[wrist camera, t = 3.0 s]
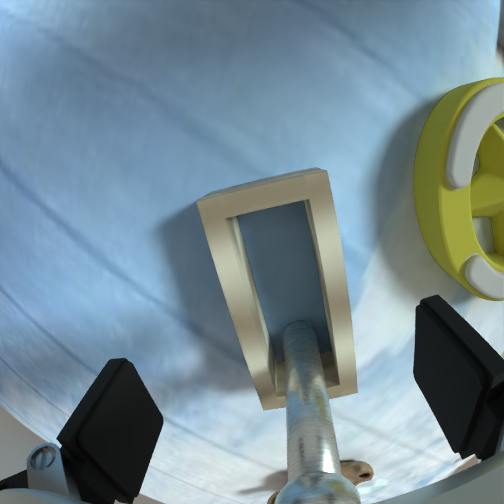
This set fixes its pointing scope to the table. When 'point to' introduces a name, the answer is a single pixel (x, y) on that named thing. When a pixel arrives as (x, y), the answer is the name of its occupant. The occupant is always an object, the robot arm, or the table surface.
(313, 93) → the table surface
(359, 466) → the oil lamp
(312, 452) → the silver metal pin
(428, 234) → the yellow-green spoked oval frame
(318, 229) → the link
